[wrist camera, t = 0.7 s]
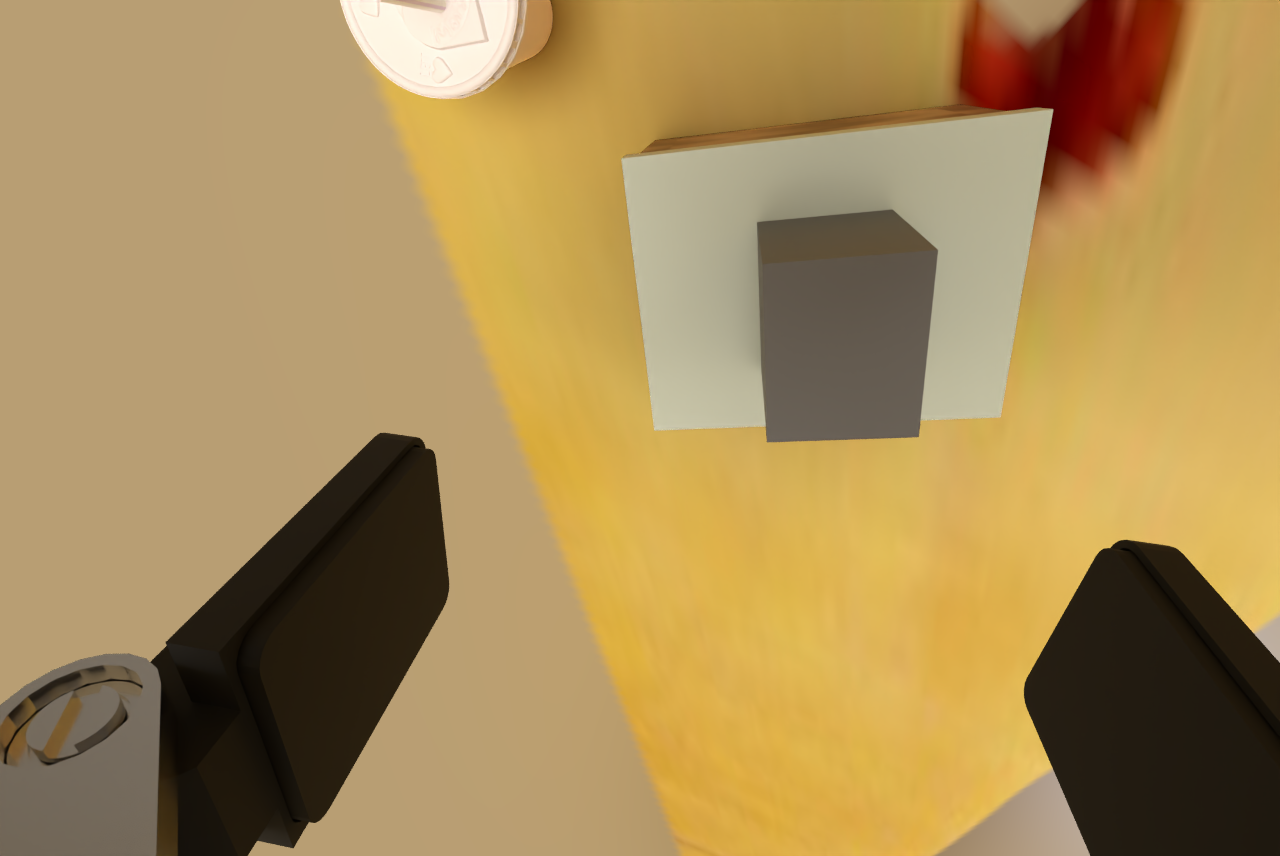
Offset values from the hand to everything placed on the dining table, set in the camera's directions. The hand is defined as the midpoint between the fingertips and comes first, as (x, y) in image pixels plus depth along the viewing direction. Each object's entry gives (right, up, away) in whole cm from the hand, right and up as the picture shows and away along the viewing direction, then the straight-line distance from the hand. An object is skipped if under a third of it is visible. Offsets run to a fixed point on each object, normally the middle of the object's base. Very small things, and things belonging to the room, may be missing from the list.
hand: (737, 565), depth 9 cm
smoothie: (-7, +21, +20) cm, 30 cm away
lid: (+6, +8, +16) cm, 19 cm away
